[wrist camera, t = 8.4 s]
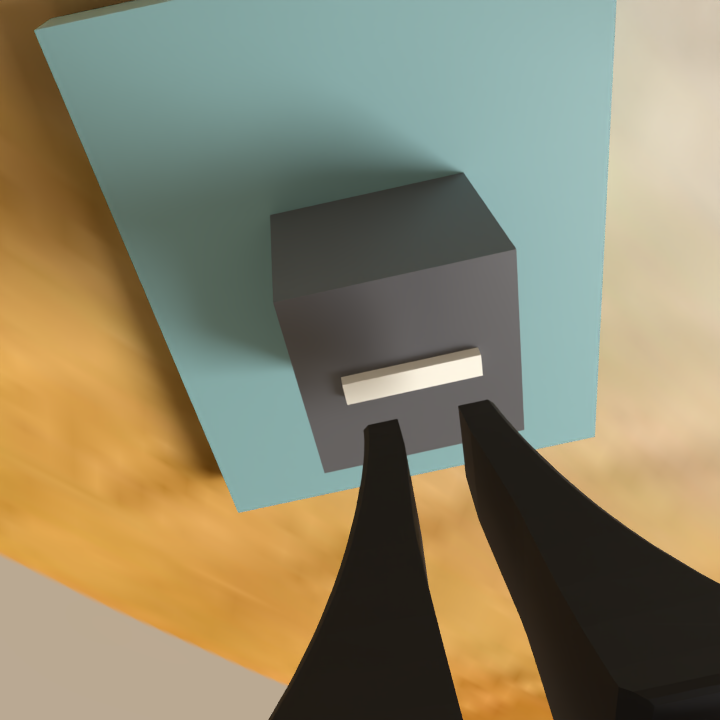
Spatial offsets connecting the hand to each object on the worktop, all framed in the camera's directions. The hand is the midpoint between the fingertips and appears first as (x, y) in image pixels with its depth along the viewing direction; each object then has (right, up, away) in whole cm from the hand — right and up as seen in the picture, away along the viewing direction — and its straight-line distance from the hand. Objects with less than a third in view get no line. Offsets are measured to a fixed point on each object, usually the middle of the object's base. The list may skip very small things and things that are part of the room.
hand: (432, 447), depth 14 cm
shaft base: (-1, +5, +7) cm, 8 cm away
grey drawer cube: (-1, +4, +6) cm, 7 cm away
